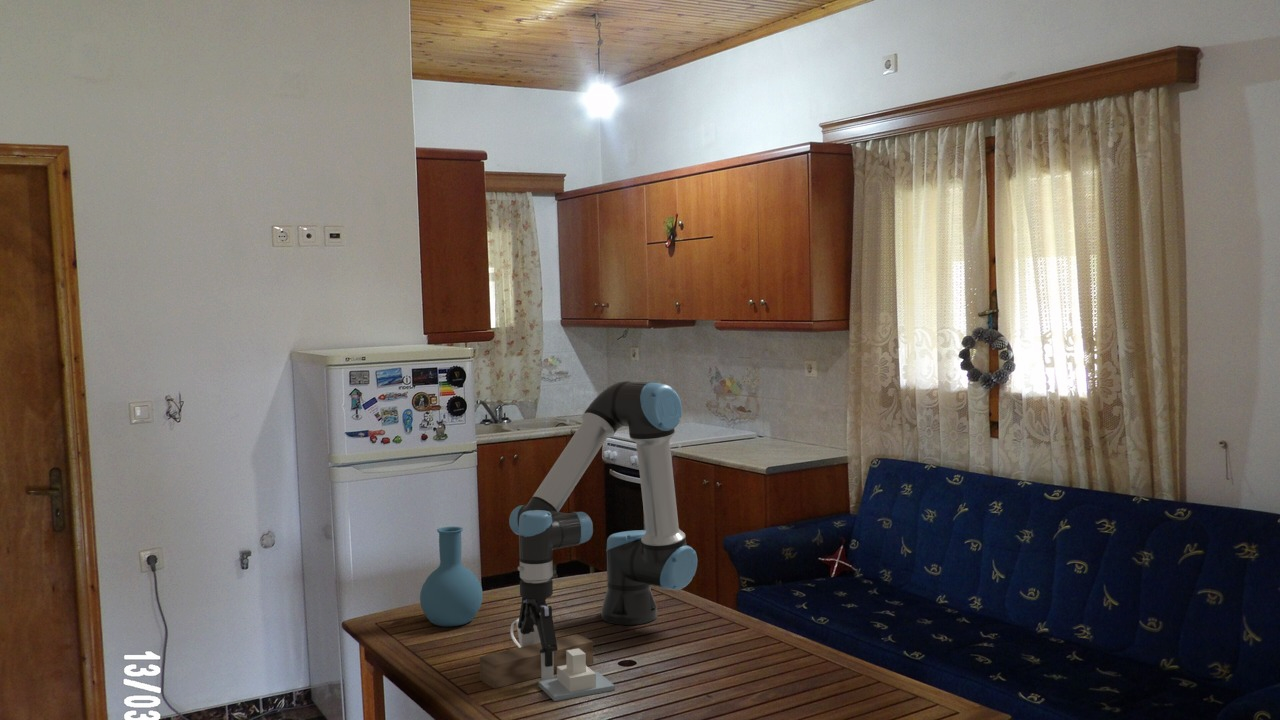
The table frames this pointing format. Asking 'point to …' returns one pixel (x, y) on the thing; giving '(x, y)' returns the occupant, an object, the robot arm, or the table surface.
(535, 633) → the cup
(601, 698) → the table surface
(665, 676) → the table surface
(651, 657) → the table surface
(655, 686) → the table surface
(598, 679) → the fulcrum
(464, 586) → the vase
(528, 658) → the beam
